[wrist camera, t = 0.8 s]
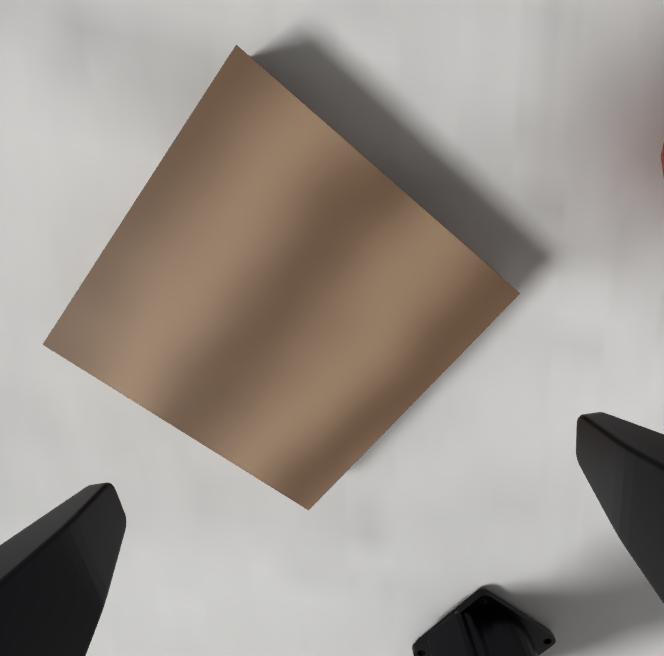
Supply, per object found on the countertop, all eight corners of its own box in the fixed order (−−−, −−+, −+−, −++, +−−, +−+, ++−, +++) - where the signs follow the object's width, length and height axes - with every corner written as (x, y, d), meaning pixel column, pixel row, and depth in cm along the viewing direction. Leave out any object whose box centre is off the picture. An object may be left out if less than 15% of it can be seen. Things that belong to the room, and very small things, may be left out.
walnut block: (494, 275, 22) (520, 293, 19) (310, 470, 26) (308, 510, 23) (249, 60, 19) (236, 45, 16) (77, 319, 22) (42, 344, 20)
